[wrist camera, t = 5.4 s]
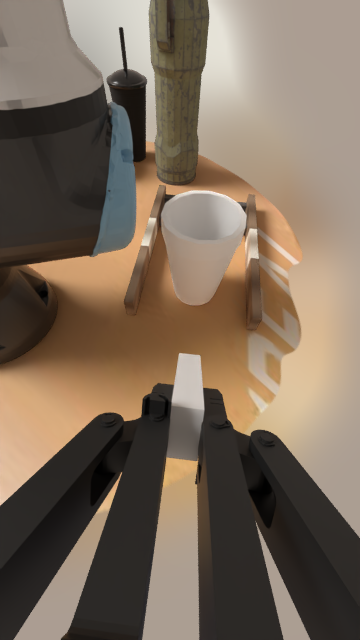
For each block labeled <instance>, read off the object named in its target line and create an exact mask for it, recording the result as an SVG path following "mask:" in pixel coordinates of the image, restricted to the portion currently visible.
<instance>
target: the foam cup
mask: <svg viewBox="0 0 360 640" xmlns="http://www.w3.org/2000/svg"><path fill="white" fill-rule="evenodd" d="M246 217H247V215H246V214H245V212H244V210H243V209H242V207H241V205H240V204H239V203H237V202H236V201H234V200H233V199H231V198H230V197H228V196H227V195H223V194H220V193H216V192H212V191H193V190H192V191H189V192H185V193H181V194H178V195H176V196H174V197H173V198H172V199H170V200H169V201H167V202H166V203H165V205H164V208H163V210H162V213H161V229H162V235H163V238H164V241H165V244H166V249H167V255H168V260H169V265H170V271H171V276H172V281H173V287H174V291H175V294H176V296H177V297H178V298H179V299H180V300H181V301H182V302H183V303H186V304H188V305H203V304H205V303H207V302H209V301H210V300H211V299H212V297H213V296H214V294H215V292H216V290H217V288H218V286H219V284H220V282H221V280H222V278H223V276H224V274H225V272H226V269H227V267H228V265H229V263H230V261H231V259H232V257H233V255H234V253H235V251H236V249H237V248H238V247H239V246H240V244H241V241H242V237H243V234H244V231H245V228H246Z"/></svg>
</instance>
